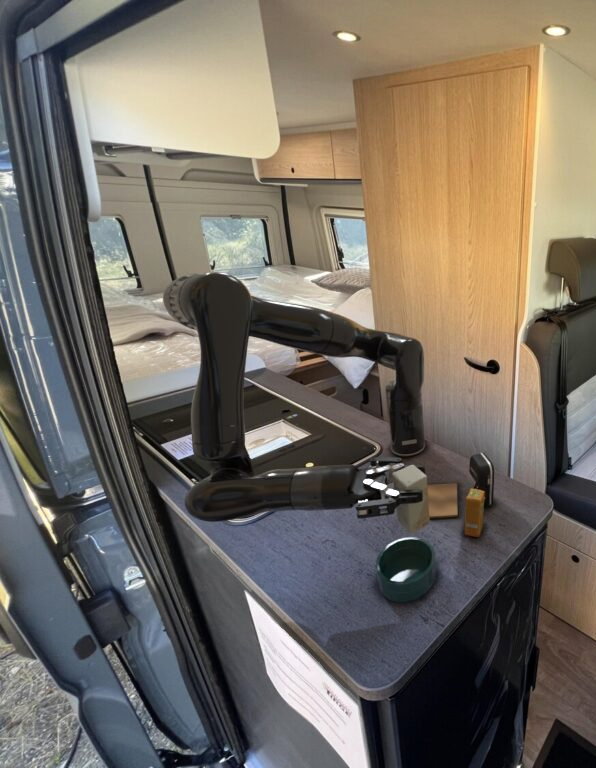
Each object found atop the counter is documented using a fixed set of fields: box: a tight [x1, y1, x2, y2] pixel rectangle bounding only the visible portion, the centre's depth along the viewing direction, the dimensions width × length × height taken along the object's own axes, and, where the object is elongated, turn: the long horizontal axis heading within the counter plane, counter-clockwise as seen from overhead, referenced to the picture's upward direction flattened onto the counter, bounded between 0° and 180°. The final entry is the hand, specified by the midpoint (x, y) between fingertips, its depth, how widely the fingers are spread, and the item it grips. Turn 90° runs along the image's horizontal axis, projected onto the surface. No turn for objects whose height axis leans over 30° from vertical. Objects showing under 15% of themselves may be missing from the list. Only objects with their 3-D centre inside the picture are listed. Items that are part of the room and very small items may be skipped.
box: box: [392, 464, 431, 535], centre depth 71 cm, size 5×4×11 cm
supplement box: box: [464, 487, 485, 538], centre depth 81 cm, size 3×3×10 cm
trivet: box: [427, 482, 459, 520], centre depth 91 cm, size 11×11×1 cm
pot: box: [375, 536, 437, 603], centre depth 71 cm, size 10×10×4 cm
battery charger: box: [468, 452, 495, 507], centre depth 90 cm, size 7×4×11 cm, turn 28°
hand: (423, 482), depth 70 cm, fingers closed on box, 6 cm apart
